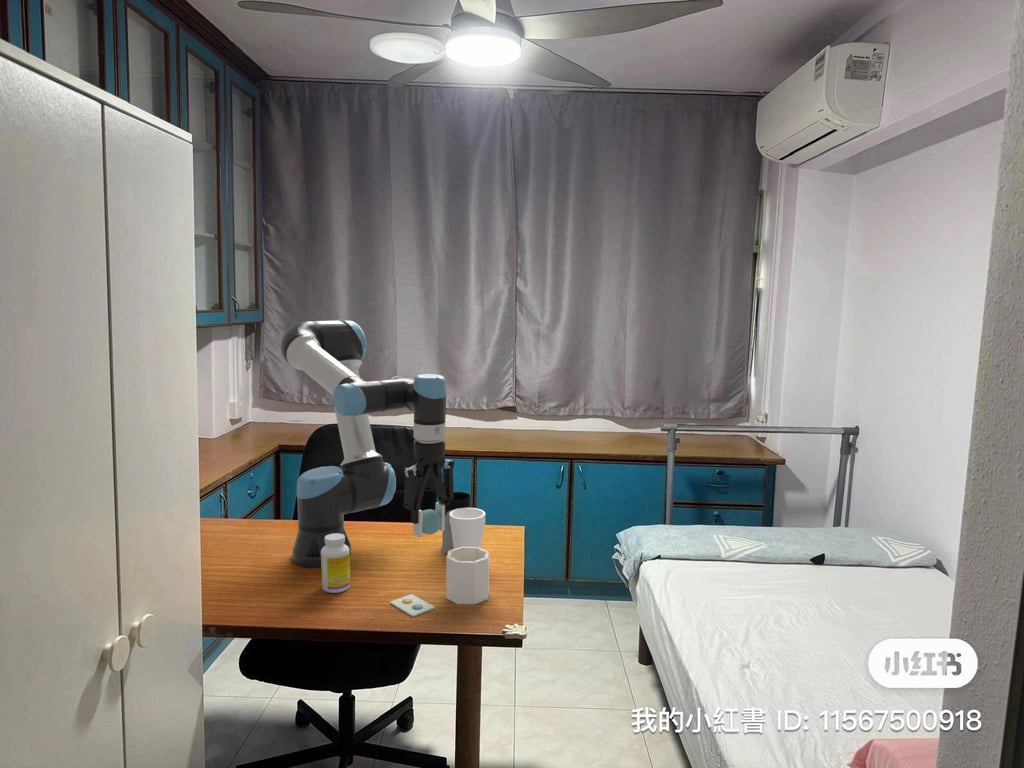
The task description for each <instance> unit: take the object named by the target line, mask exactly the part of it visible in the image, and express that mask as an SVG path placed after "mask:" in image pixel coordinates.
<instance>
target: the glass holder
mask: <svg viewBox="0 0 1024 768" xmlns="http://www.w3.org/2000/svg"><path fill="white" fill-rule="evenodd" d="M449 501H450V504H449V505H447V514H446V516H445V525H444V531H441V532H442V537H441V539H442V542H441V543H442V544H441V546H440V551H441V552H442V553H444V554H448V551H449V550H453V549H454V547H453V539H452V532H451V525H450V512H451V511H453V510H455V509H459V508H471V494H470V493H467V492H463V491H454V498H453V500H449Z"/></svg>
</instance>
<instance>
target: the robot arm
mask: <svg viewBox="0 0 1024 768" xmlns="http://www.w3.org/2000/svg"><path fill="white" fill-rule="evenodd" d="M366 348H367V338H366V336H365V333H364V331H363V329H362V327H361V326H360V325H359V324H357V323H356V322H355V321H352V320H343V319H337V320H313V321H311V320H307V321H306V320H305V321H301V322H297V323H295V324H293V325H291V326H290V327H289V328H288V329H287V330H286V331H285V332H284V333H283V336H282V338H281V341H280V353H281V355H282V358H283V359H284V360H285V362H286V363H287V364H289V366H291V368H294V369H296V370H299V371H302V372H304V373H305V374H306V375H308V376H309V377H310V378H311V379H312V380H313V381H314V382H316V383H317V384H318V385H319V386H321V387H322V389H324V390H325V391H326V392H328V393H329V394H330V395H331V399H332V402H333V408H334V414H335V418H336V421H337V423H336V424H337V426H338V432H339V438H340V442H341V447H342V451H343V457H344V458H343V461H342V462H341V463H340V467H339V466H336V465H328V466H320V467H315V468H312V469H309V470H307V471H304V472H303V473H302V474H301V475H299V477H298V479H297V482H296V483H297V484H296V500H297V502H296V503H297V521H298V523H297V524H298V525H297V526H298V530H297V533H296V536H295V537H296V538H295V541H294V544H293V547H292V550H291V551H292V552H291V553H292V556H291V557H292V562H293V563H294V564H296V565H299V566H302V567H306V568H307V567H309V568H321V550H322V548H323V547H324V546H326V544H325V536H327V535H329V534H334V533H339V534H343V535H345V542H344V544H345V545H347V546H348V547H349V553H350V557H351V556H352V545H351V542H350V540H349V536H348V535H347V532H346V529H345V524H344V523H345V522H344V519H345V517H344V515H348V514H352V513H358V512H361V511H365V510H370V509H376V508H378V507H382V506H386V505H388V504H389V503H390V502H391V501H392V499H393V498H394V496H395V495H394V494H395V492H396V488H397V477H396V472H395V470H394V468H392V467H393V466H392V464H390V463H389V462H384V459H383V455H381V454H380V453H378V452H377V451H376V448H375V447H376V446H375V442H374V437H373V432H372V428H371V425H370V424H371V423H370V419H369V414H375V413H376V414H377V413H381V412H383V413H385V412H391V411H399V410H408V411H412V412H413V439H414V440H413V456H414V461H413V463H412V466H410V467H404V468H403V470H402V471H403V475H404V490H403V492H404V493H403V508H405V509H406V510H408V511H410V522H411V523H412V525H413V526H412V532H413V533H412V534H413V535H414V536H416V537H418V538H422V537H423V533H422V525H423V511H424V510H421V506H422V505H421V504H422V501H423V497H424V493H425V490H426V486H427V484H428V482H429V479H432V482H433V486H434V489H435V493H436V497H437V502H435V509H434V510H435V511H436V512H438V513H439V515H440V516H441V519H442V524H441V527H440V529H439V530H438V531H441V532H442V531H444V525H445V516H446V514H447V505H449V504H450V501H449V500H453V498H454V492H455V490H454V468H455V461H454V460H451V459H448V458H446V459H445V455H446V441H445V439H446V417H447V414H446V413H447V408H446V407H447V395H448V394H447V390H446V389H447V386H446V378H445V377H444V376H443V375H442V374H441V375H440V374H436V373H435V374H433V373H423V374H417V375H415V376H414V378H410V377H407V376H400V375H399V376H396V375H395V376H392V377H390V378H389V379H384V380H383V379H382V380H373V381H365V380H364V379H363V378H361V377H360V372H359V371H360V370H359V368H360V367H361V366H362V364H363V360H362V359H364V358H365V356H366V354H367V349H366Z"/></svg>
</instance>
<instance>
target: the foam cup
mask: <svg viewBox="0 0 1024 768" xmlns="http://www.w3.org/2000/svg"><path fill="white" fill-rule="evenodd" d="M450 525H451V532H452V539H453V547H454V549H456V548H459V547H479V548H482V546H483V538H484V529H485V525H486V512H485V511H484V510H483V509H480V508H475V507H470V508H459V509H455V510H453V511H451V512H450Z"/></svg>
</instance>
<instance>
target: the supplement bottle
mask: <svg viewBox="0 0 1024 768" xmlns="http://www.w3.org/2000/svg"><path fill="white" fill-rule="evenodd" d="M344 542H345V535H343V534H339V533H334V534H329V535H327V536H325V544H326V546H324V547H323V548H322V550H321V567H320V569H321V571H320V572H321V588H322V590H323V591H324V592H326V593H330V594H337V593H342V592H346V591H347V590H348V589H349V588H350V587H351V564H350V563H351V561H350V560H351V559H350V558H351V556H350V553H349V547H348V546H347V545H345V544H344Z"/></svg>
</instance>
